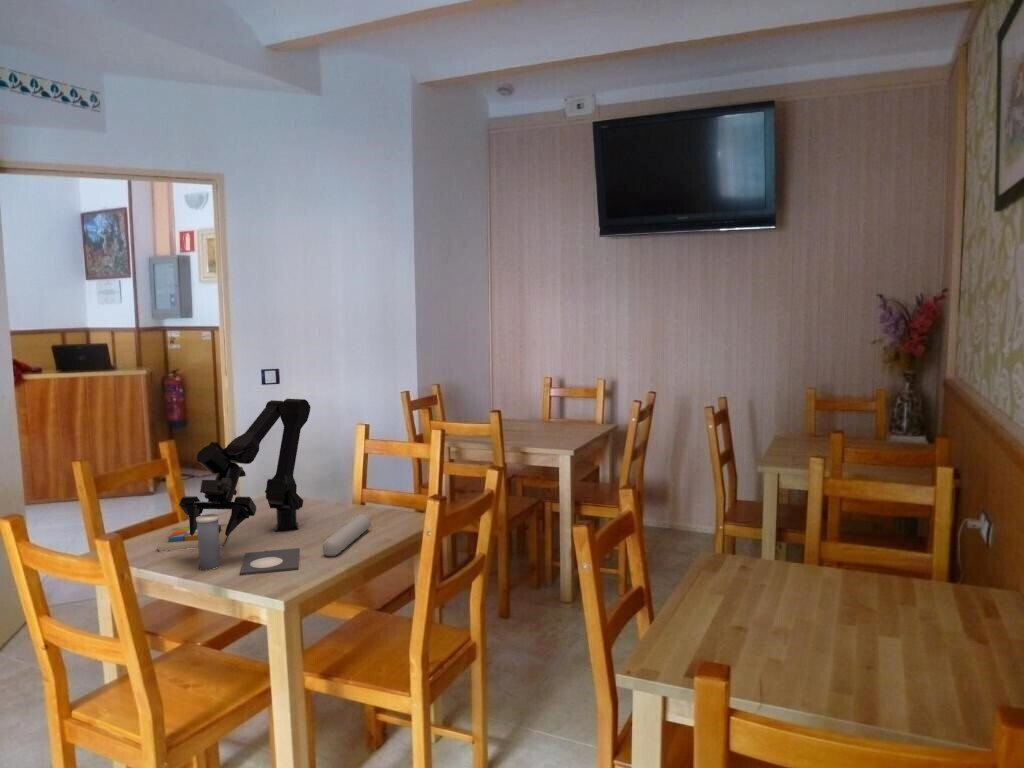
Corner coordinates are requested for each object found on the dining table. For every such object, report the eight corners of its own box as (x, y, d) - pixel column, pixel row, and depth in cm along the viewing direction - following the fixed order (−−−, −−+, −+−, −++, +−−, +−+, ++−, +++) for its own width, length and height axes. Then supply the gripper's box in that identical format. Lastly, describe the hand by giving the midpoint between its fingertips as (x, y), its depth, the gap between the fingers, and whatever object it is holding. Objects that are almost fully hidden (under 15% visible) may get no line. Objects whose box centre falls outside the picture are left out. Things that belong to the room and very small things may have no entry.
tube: (340, 544, 196) (373, 517, 220) (321, 537, 197) (357, 511, 221) (334, 563, 197) (368, 533, 221) (316, 555, 197) (352, 527, 222)
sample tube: (200, 564, 193) (197, 515, 192) (222, 562, 194) (220, 513, 193) (197, 571, 188) (194, 520, 186) (220, 569, 189) (217, 519, 188)
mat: (245, 555, 200) (245, 552, 200) (299, 550, 203) (299, 547, 203) (239, 575, 184) (239, 572, 184) (298, 569, 188) (298, 566, 188)
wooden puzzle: (231, 529, 226) (231, 518, 225) (224, 548, 207) (224, 536, 207) (169, 534, 221) (168, 522, 221) (156, 554, 203) (156, 541, 203)
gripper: (180, 466, 195) (160, 519, 185) (250, 466, 194) (233, 519, 184) (196, 488, 203) (178, 540, 193) (263, 489, 202) (248, 541, 192)
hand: (208, 534), depth 191 cm, fingers open, 9 cm apart
